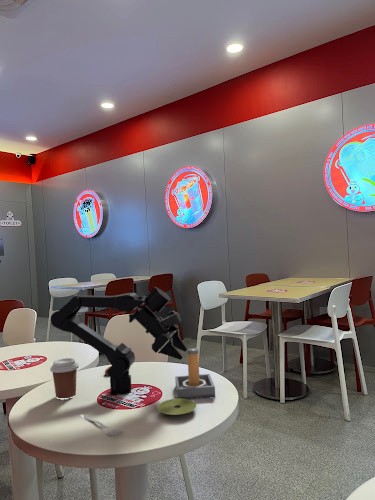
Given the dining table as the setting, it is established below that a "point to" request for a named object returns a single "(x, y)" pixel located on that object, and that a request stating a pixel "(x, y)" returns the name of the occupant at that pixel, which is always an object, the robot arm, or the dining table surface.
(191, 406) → the olive green flat disc
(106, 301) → the robot arm
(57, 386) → the coffee cup
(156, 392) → the dining table surface
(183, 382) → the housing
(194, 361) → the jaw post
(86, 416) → the fork
